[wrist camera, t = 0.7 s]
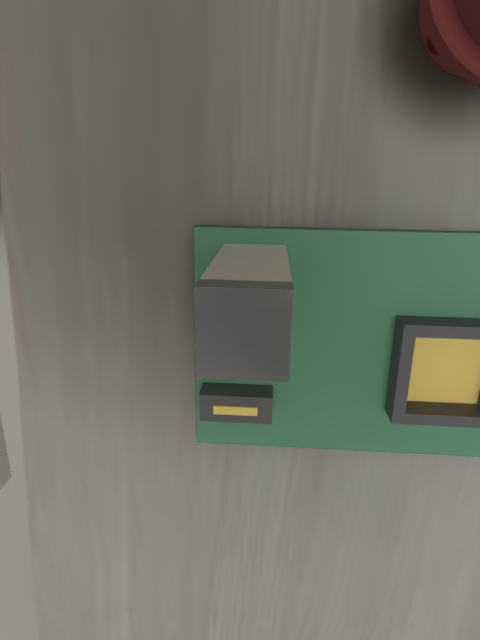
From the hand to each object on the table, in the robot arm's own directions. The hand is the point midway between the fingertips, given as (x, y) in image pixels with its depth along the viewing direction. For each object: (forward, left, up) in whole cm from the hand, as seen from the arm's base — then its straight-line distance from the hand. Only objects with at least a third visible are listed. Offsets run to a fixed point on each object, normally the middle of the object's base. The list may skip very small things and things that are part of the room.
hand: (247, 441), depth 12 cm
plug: (0, -1, -20) cm, 20 cm away
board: (+5, +7, -21) cm, 23 cm away
